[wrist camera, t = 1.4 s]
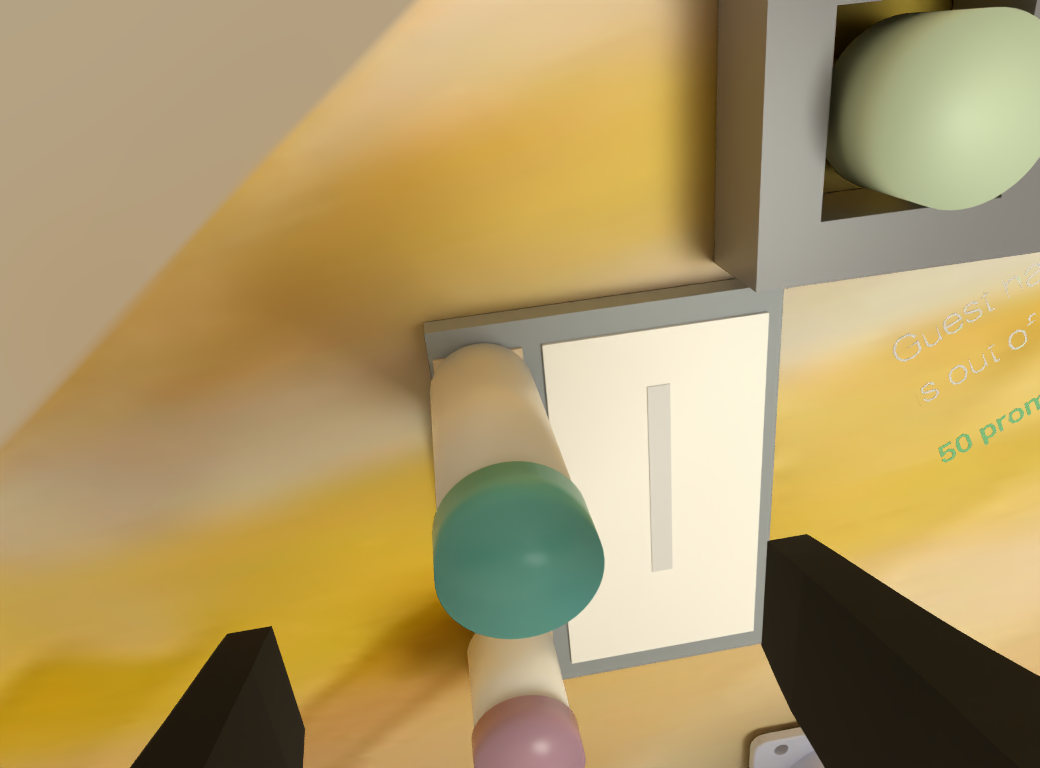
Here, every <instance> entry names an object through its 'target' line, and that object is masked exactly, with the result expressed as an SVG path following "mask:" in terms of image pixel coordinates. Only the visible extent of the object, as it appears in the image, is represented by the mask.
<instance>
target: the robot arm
mask: <svg viewBox="0 0 1040 768" xmlns="http://www.w3.org/2000/svg"><path fill="white" fill-rule="evenodd" d="M761 645H762V648H763V650H764V652H765V655H766V657H767V659H768V661H769V664H770V666H771V668H772V671H773V673H774V675H775V678H776V680H777V682H778V684H779V686H780V688H781V691H782V693H783V695H784V697H785V699H786V701H787V704H788V706H789V708H790V710H791V712H792V713H793V715H794V717H795V719H796V720H797V722H798V724H799V725H800V727H798V728H793V729H788V730H782V731H777V732H772V733H767V734H762V735H759V736H758V737H756V738H755V739H754V740H753V741H752V742H751V745H750V759H749V768H1040V676H1038V675H1036V674H1034V673H1033V672H1031V671H1029V670H1027V669H1025V668H1024V667H1022V666H1020V665H1018V664H1016V663H1015V662H1013V661H1011V660H1009V659H1008V658H1006V657H1004V656H1002V655H1000V654H999V653H997V652H995V651H993V650H992V649H990V648H988V647H986V646H984V645H983V644H981V643H979V642H978V641H976V640H974V639H972V638H971V637H969V636H967V635H966V634H964V633H962V632H961V631H959V630H957V629H956V628H954V627H952V626H951V625H949V624H947V623H946V622H944V621H942V620H941V619H939V618H937V617H936V616H934V615H933V614H931V613H929V612H928V611H926V610H925V609H923V608H921V607H920V606H918V605H917V604H915V603H913V602H912V601H910V600H909V599H907V598H906V597H904V596H902V595H901V594H899V593H898V592H896V591H895V590H893V589H891V588H890V587H888V586H887V585H885V584H884V583H882V582H881V581H879V580H878V579H876V578H875V577H873V576H871V575H870V574H868V573H867V572H865V571H864V570H862V569H861V568H859V567H858V566H856V565H855V564H853V563H852V562H850V561H848V560H847V559H845V558H844V557H842V556H841V555H839V554H838V553H836V552H835V551H833V550H832V549H830V548H828V547H827V546H825V545H824V544H822V543H821V542H819V541H817V540H816V539H814V538H812V537H811V536H809V535H807V534H805V535H800V536H794V537H788V538H782V539H776V540H770V541H767V556H766V573H765V591H764V608H763V626H762V643H761ZM304 737H305V728H304V725H303V721H302V718H301V715H300V712H299V709H298V706H297V703H296V700H295V697H294V694H293V691H292V687H291V684H290V681H289V678H288V675H287V672H286V669H285V666H284V663H283V660H282V656H281V653H280V650H279V647H278V644H277V641H276V638H275V635H274V632H273V629H272V626H270V627H264V628H259V629H253V630H247V631H241V632H235V633H230V634H227V635H226V636H225V638H224V639H223V640H222V641H221V643H220V644H219V645H218V647H217V648H216V650H215V651H214V652H213V654H212V655H211V656H210V658H209V659H208V661H207V662H206V664H205V665H204V666H203V668H202V669H201V671H200V672H199V673H198V675H197V676H196V678H195V679H194V681H193V682H192V683H191V685H190V686H189V688H188V689H187V690H186V692H185V693H184V695H183V696H182V697H181V699H180V700H179V702H178V703H177V704H176V706H175V707H174V709H173V710H172V711H171V713H170V714H169V716H168V717H167V718H166V720H165V721H164V723H163V724H162V725H161V727H160V728H159V729H158V731H157V732H156V733H155V735H154V736H153V737H152V739H151V740H150V741H149V743H148V744H147V745H146V747H145V748H144V749H143V751H142V752H141V754H140V755H139V756H138V758H137V759H136V760H135V762H134V763H133V764H132V766H131V767H130V768H303V755H304Z"/></svg>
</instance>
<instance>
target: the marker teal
mask: <svg viewBox="0 0 1040 768" xmlns="http://www.w3.org/2000/svg"><path fill="white" fill-rule="evenodd" d="M430 400H431V418H432V436H433V454H434V471H435V489H436V507H437V512H436V514H435V517H434V522H433V530H432V539H433V561H434V581H435V589H436V592H437V596H438V598H439V600H440V602H441V605H442V606H443V607H444V609H445V610H446V612H447V613H448V614H449V615H450V616H451V617H452V618H453V619H454V620H455V621H456V622H458V623H459V624H460V625H462V626H463V627H465V628H467V629H468V630H470V631H473V632H475V633H477V634H480V635H484V636H487V637H492V638H498V639H522V638H529V637H534V636H538V635H541V634H544V633H547V632H550V631H552V630H555V629H557V628H559V627H561V626H562V625H564V624H566V623H568V622H569V621H570V620H572V619H573V618H575V617H576V616H577V615H578V614H579V613H580V612H582V611H583V610H584V609H585V608H586V606H587V605H588V604H589V603H590V602H591V600H592V599H593V597H594V596H595V594H596V592H597V590H598V588H599V586H600V584H601V581H602V578H603V573H604V566H605V558H604V551H603V547H602V544H601V541H600V539H599V536H598V533H597V531H596V528H595V526H594V523H593V520H592V518H591V515H590V513H589V510H588V507H587V505H586V502H585V500H584V498H583V496H582V494H581V492H580V491H579V489H578V488H577V487H576V485H575V484H574V483H573V482H572V481H571V478H570V476H569V473H568V470H567V468H566V465H565V462H564V459H563V457H562V454H561V451H560V449H559V446H558V443H557V441H556V438H555V435H554V433H553V430H552V427H551V425H550V422H549V419H548V416H547V414H546V411H545V408H544V406H543V403H542V400H541V398H540V395H539V392H538V390H537V387H536V384H535V382H534V379H533V376H532V374H531V371H530V369H529V367H528V366H527V364H526V363H525V361H524V360H523V359H522V358H521V357H520V356H519V355H517V354H516V353H515V352H513V351H512V350H510V349H508V348H506V347H504V346H500V345H497V344H491V343H478V344H472V345H468V346H465V347H462V348H460V349H458V350H456V351H455V352H453V353H451V354H450V355H449V356H448V357H446V358H445V359H444V360H443V361H442V363H441V364H440V365H439V367H438V368H437V370H436V371H435V373H434V376H433V378H432V382H431V387H430Z"/></svg>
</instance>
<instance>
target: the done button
mask: <svg viewBox="0 0 1040 768" xmlns="http://www.w3.org/2000/svg"><path fill="white" fill-rule="evenodd" d="M1039 157H1040V19H1038V18H1037V17H1036V16H1034V15H1032V14H1030V13H1028V12H1026V11H1023V10H1020V9H1016V8H1009V7H990V8H976V9H961V10H947V11H933V12H919V13H906V14H901V15H895V16H893V17H890V18H887V19H884V20H882V21H880V22H878V23H876V24H874V25H873V26H871V27H870V28H868V29H866V30H865V31H864V32H862V33H861V34H860V35H859V36H858V37H856V38H855V39H854V40H853V41H852V42H851V43H850V44H849V45H848V47H847V48H846V49H845V50H844V51H843V53H842V54H841V55H840V57H839V58H838V59H837V61H836V63H835V64H834V66H833V68H832V81H831V94H830V107H829V120H828V133H827V146H826V158H827V160H828V161H829V163H830V165H831V166H832V167H833V168H834V170H835V171H836V172H837V173H838V174H839V175H841V176H842V177H843V178H844V179H846V180H848V181H849V182H851V183H853V184H856V185H858V186H861V187H865V188H868V189H871V190H874V191H878V192H881V193H884V194H887V195H891V196H894V197H897V198H900V199H904V200H907V201H910V202H913V203H917V204H920V205H923V206H926V207H930V208H934V209H938V210H961V209H966V208H971V207H974V206H977V205H980V204H983V203H985V202H987V201H989V200H992V199H994V198H995V197H997V196H999V195H1000V194H1002V193H1004V192H1005V191H1006V190H1008V189H1009V188H1010V187H1012V186H1013V185H1014V184H1016V183H1017V182H1018V181H1019V180H1020V179H1021V178H1022V177H1023V176H1024V175H1025V174H1026V173H1027V172H1028V171H1029V170H1030V169H1031V168H1032V166H1033V165H1034V164H1035V163H1036V161H1037V160H1038V159H1039Z"/></svg>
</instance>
